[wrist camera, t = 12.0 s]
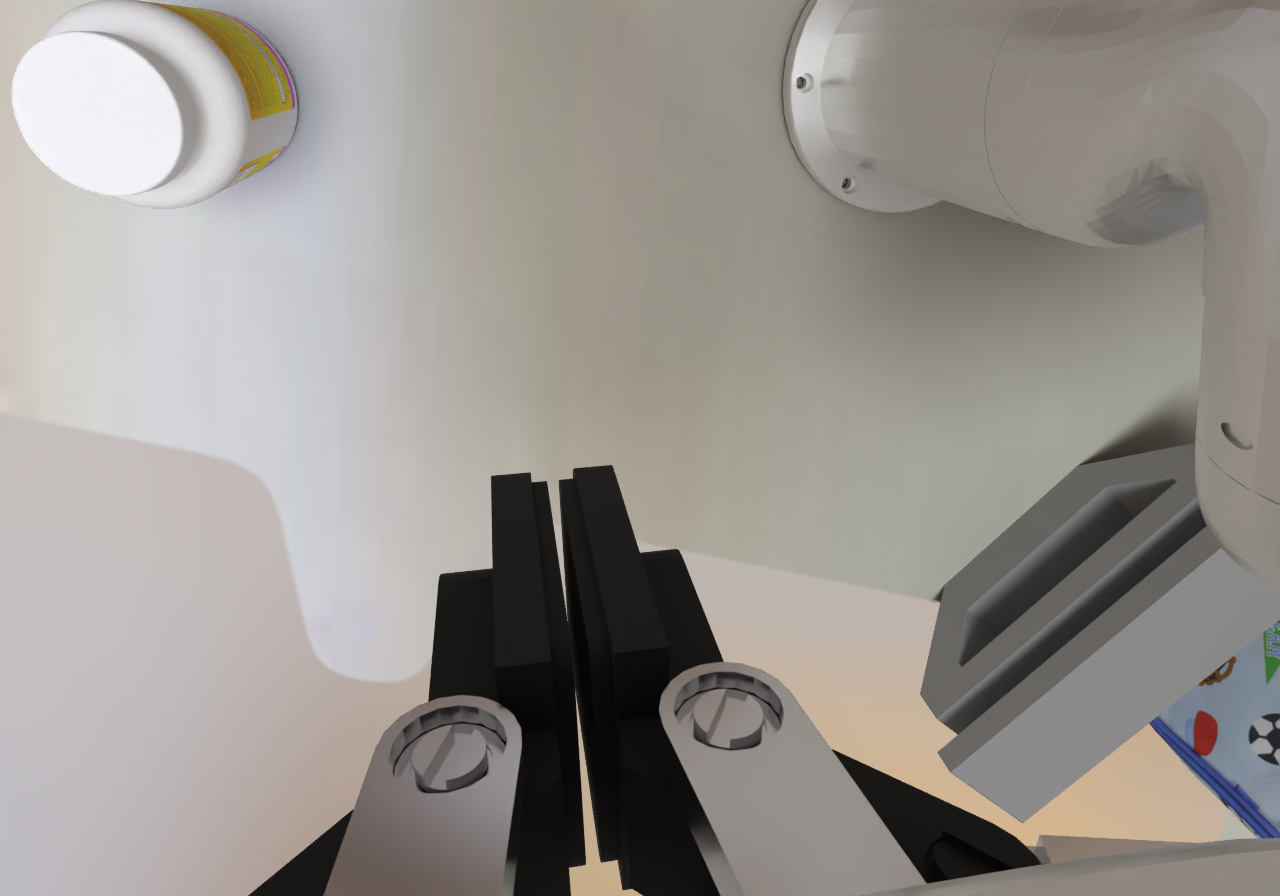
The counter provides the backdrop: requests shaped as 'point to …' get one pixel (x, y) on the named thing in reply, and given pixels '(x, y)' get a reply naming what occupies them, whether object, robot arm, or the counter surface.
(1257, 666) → the lunch box
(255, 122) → the supplement bottle
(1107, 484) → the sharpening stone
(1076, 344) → the counter surface
